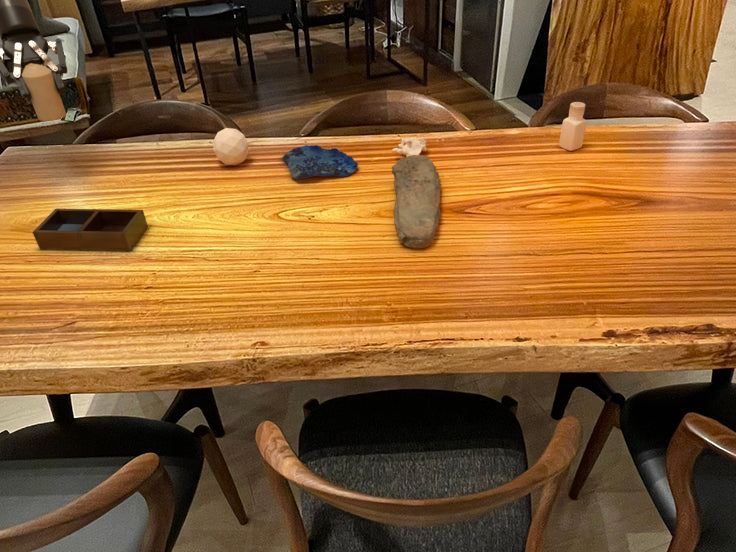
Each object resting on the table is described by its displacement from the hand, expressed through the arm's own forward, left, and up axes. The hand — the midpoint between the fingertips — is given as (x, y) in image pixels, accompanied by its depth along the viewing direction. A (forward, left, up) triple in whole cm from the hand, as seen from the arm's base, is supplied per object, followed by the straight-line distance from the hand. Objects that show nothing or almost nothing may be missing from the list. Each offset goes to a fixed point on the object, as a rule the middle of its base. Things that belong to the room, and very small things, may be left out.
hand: (45, 95), depth 124 cm
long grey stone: (+75, -9, -18) cm, 78 cm away
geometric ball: (+33, +10, -18) cm, 39 cm away
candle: (-1, +1, -5) cm, 5 cm away
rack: (+15, -24, -18) cm, 34 cm away
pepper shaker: (+109, +20, -18) cm, 112 cm away
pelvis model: (+73, +15, -18) cm, 77 cm away
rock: (+52, +9, -18) cm, 56 cm away
